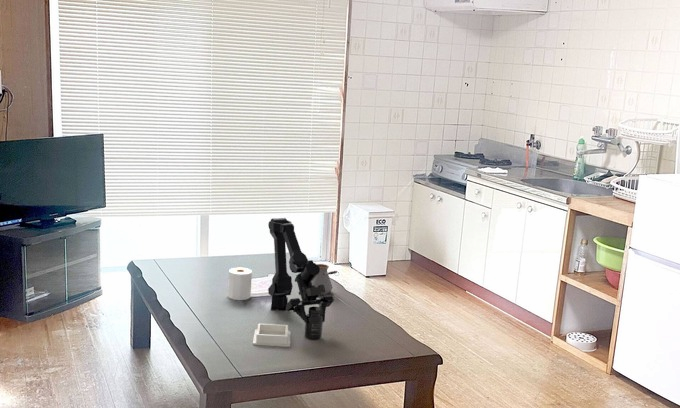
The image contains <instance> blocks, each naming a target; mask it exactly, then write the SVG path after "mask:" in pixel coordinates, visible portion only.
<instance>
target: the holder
mask: <svg viewBox="0 0 680 408" xmlns="http://www.w3.org/2000/svg"><path fill="white" fill-rule="evenodd" d="M288 329H289V325H288V324H279V323H277V324H275V323H258V324H257V329H254V335H253V341H252V346H270V347H271V346H272V347H285V348H286V347H287V348H288V347H290V346H291V330H288Z"/></svg>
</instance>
